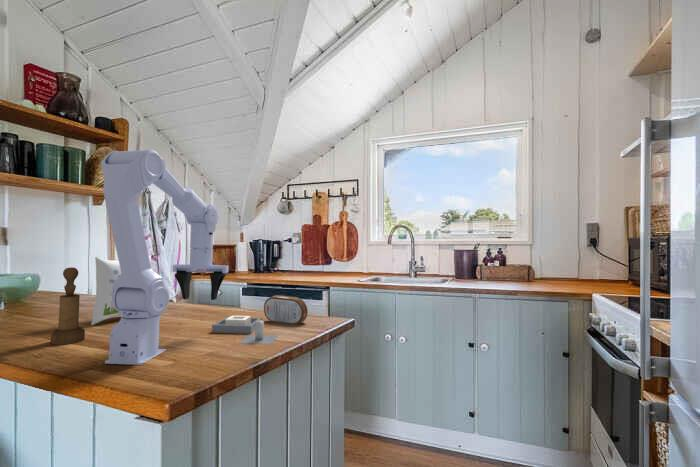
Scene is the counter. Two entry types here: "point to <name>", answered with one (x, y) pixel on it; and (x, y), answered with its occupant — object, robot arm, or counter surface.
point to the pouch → (105, 289)
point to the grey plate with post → (259, 335)
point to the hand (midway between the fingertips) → (199, 299)
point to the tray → (234, 327)
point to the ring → (238, 320)
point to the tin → (285, 309)
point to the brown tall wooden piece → (68, 313)
